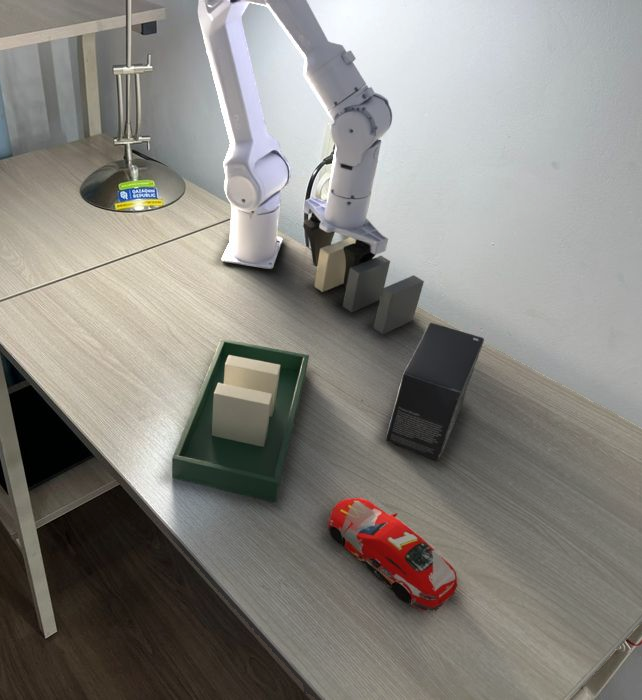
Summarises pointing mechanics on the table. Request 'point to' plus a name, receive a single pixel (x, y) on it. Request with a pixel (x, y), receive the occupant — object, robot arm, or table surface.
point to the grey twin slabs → (382, 294)
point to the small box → (433, 390)
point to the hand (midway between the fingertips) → (334, 274)
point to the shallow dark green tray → (233, 456)
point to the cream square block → (332, 265)
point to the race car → (393, 553)
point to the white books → (245, 400)
